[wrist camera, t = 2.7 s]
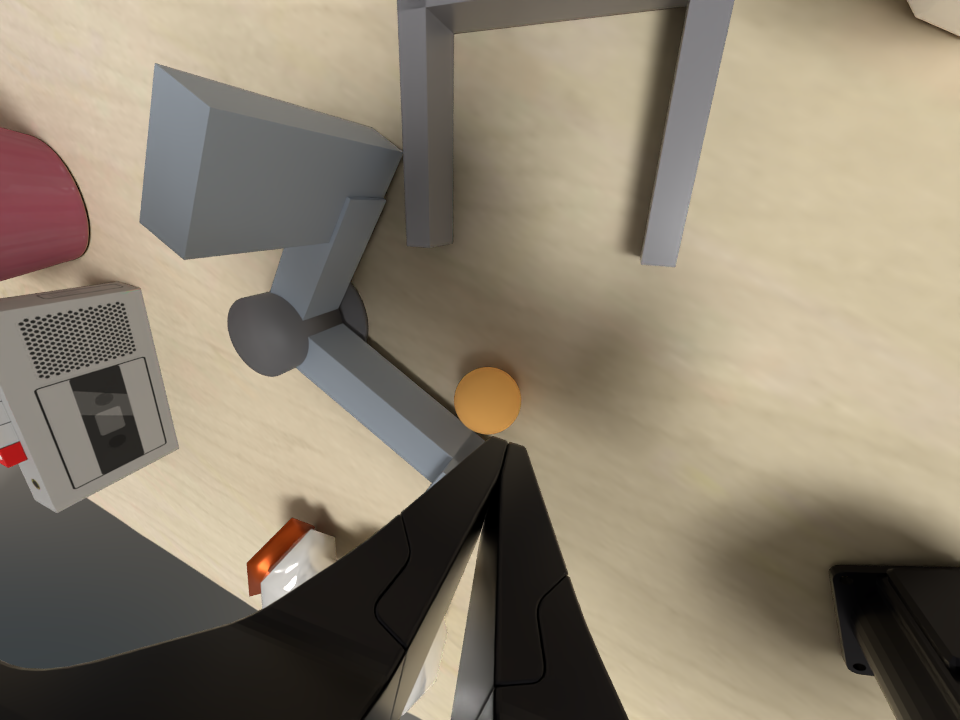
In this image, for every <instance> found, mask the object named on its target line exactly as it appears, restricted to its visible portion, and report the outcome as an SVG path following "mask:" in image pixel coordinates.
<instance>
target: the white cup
mask: <svg viewBox="0 0 960 720" xmlns="http://www.w3.org/2000/svg"><path fill="white" fill-rule="evenodd" d="M907 2H908V4H909V6H910V8H911V10H912V12H913V14H914V16H915V17H916V18H919V19H921V20H923V21H926V22H928V23H930V24H932V25H935V26H937V27H939V28H942V29H944V30H946V31H948V32H951V33H953V34H955V35H958V36H960V0H907Z"/></svg>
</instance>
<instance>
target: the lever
mask: <svg viewBox="0 0 960 720" xmlns="http://www.w3.org/2000/svg"><path fill="white" fill-rule="evenodd" d="M402 155H403V151H401V150H400V149H399V148H397V147H396V146H395V145H394V144H392V143H391V142H390V141H388V140H387V139H386V138H385V137H383V136H382V135H381V134H379V133H378V132H377V131H376V130H374V129H373V128H372V127H368V126H365V125H361V124H358V123H355V122H351V121H348V120H345V119H341V118H338V117H335V116H331V115H328V114H325V113H321V112H318V111H314V110H311V109H308V108H304V107H301V106H298V105H294V104H291V103H288V102H284V101H281V100H277V99H274V98H271V97H267V96H264V95H261V94H257V93H254V92H251V91H247V90H244V89H241V88H237V87H234V86H230V85H227V84H224V83H220V82H217V81H214V80H210V79H207V78H204V77H200V76H197V75H194V74H190V73H187V72H183V71H180V70H177V69H173V68H170V67H167V66H163V65H160V64H157V63H155V68H154V78H153V88H152V98H151V109H150V119H149V129H148V140H147V150H146V160H145V170H144V181H143V191H142V201H141V211H140V223H141V224H142V225H143V226H144V227H146V228H147V229H148V230H149V231H150V232H152V233H153V234H154V235H155V236H156V237H158V238H159V239H160V240H161V241H162V242H163V243H165V244H166V245H167V246H168V247H169V248H171V249H172V250H173V251H174V252H175V253H176V254H178V255H179V256H180V257H181V258H182V259H184V260H187V259H195V258H204V257H212V256H221V255H230V254H238V253H247V252H255V251H264V250H272V249H281V248H284V250H283V253H282V256H281V259H280V262H279V265H278V268H277V272H276V275H275V278H274V281H273V284H272V287H271V290H270V292H266V293H262V294H257V295H253V296H249V297H244V298H241V299H238V300H237V301H235V302H234V303H233V305H232V306H231V308H230V310H229V313H228V321H227V322H228V331H229V335H230V338H231V341H232V344H233V346H234V348H235V350H236V351H237V353H238V354H239V356H240V357H241V359H242V360H243V361H244V362H245V363H246V364H247V365H248V366H249V367H250V368H252V369H253V370H254V371H256V372H258V373H260V374H262V375H265V376H270V377H274V376H278V375H281V374H283V373H285V372H287V371H289V370H292V369H294V368H297V369H298V370H299V371H300V372H301V373H303V374H304V375H305V376H306V377H307V378H308V379H310V380H311V381H312V382H313V383H314V384H316V385H317V386H318V387H319V388H320V389H321V390H323V391H324V392H325V393H326V394H327V395H329V396H330V397H331V398H332V399H333V400H334V401H336V402H337V403H338V404H339V405H340V406H342V407H343V408H344V409H345V410H346V411H347V412H349V413H350V414H351V415H352V416H353V417H355V418H356V419H357V420H358V421H359V422H360V423H362V424H363V425H364V426H365V427H366V428H368V429H369V430H370V431H371V432H372V433H373V434H375V435H376V436H377V437H378V438H379V439H380V440H382V441H383V442H384V443H385V444H386V445H388V446H389V447H390V448H391V449H392V450H393V451H395V452H396V453H397V454H398V455H399V456H401V457H402V458H403V459H404V460H405V461H406V462H408V463H409V464H410V465H411V466H412V467H414V468H415V469H416V470H417V471H418V472H419V473H421V474H422V475H423V476H424V477H425V478H427V479H428V480H429V481H430V482H431V483H432V484H431V485H430V486H429V488H431V487H432V486H433V485H434V484H435V483H437V482H438V481H439V480H440V479H441V478H442V477H444V476H445V475H446V474H447V473H448V472H450V471H451V470H452V469H453V468H454V467H455V466H457V465H458V464H459V463H460V462H461V461H463V460H464V459H465V458H466V457H467V456H469V455H470V454H471V453H472V452H473V451H474V450H476V449H477V448H478V447H479V446H480V445H482V444H483V443H484V442H485V441H484V440H483V439H482V438H481V437H480V436H478V435H477V434H476V433H475V432H473V431H472V430H470V429H469V428H467V427H466V426H465V425H464V424H463V423H462V422H461V421H460V420H459V419H458V418H457V417H455V416H454V415H453V414H452V413H450V412H449V411H448V410H447V409H446V408H444V407H443V406H442V405H441V404H440V403H438V402H437V401H436V400H435V399H434V398H432V397H431V396H430V395H429V394H428V393H426V392H425V391H424V390H423V389H421V388H420V387H419V386H418V385H417V384H415V383H414V382H413V381H412V380H411V379H409V378H408V377H407V376H406V375H405V374H403V373H402V372H401V371H400V370H399V369H397V368H396V367H395V366H394V365H392V364H391V363H390V362H389V361H388V360H386V359H385V358H384V357H383V356H382V355H380V354H379V353H378V352H377V351H376V350H374V349H373V348H372V347H371V346H370V345H368V344H367V343H366V342H365V341H363V340H362V339H361V338H360V337H359V336H357V335H356V334H355V333H354V332H353V331H351V330H350V329H349V328H348V327H347V326H345V325H344V324H343V322H342V317H341V314H340V311H339V309H338V308H339V306H340V304H341V302H342V299H343V297H344V295H345V293H346V290H347V288H348V286H349V284H350V281H351V279H352V277H353V275H354V272H355V270H356V268H357V266H358V263H359V261H360V259H361V257H362V254H363V252H364V250H365V248H366V245H367V243H368V241H369V239H370V236H371V234H372V232H373V230H374V227H375V225H376V223H377V221H378V218H379V216H380V214H381V212H382V209H383V207H384V205H385V203H386V201H387V200H385V199H384V196H385V194H386V191H387V189H388V187H389V184H390V182H391V180H392V178H393V175H394V173H395V171H396V169H397V166H398V164H399V162H400V159H401V157H402ZM429 488H428V489H429ZM428 489H427V490H428ZM427 490H426V491H427Z"/></svg>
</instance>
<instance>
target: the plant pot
mask: <svg viewBox="0 0 960 720" xmlns="http://www.w3.org/2000/svg"><path fill="white" fill-rule="evenodd" d="M88 238H89V227H88V219H87V214H86V211H85V207H84V204H83V201H82V198H81V195H80V193H79V191H78V188H77V186H76V184H75V182H74V180H73V178H72V176H71V175H70V173H69V171H68V169H67V168H66V166H65V165H64V163H63V162H62V161H61V159H60V158H59V157H58V156H57V154H56V153H55V152H54V151H53V150H52V149H51V148H50V147H49V146H47V145H46V144H45V143H44V142H42V141H41V140H39V139H37V138H35V137H33V136H31V135H27V134H23V133H19V132H16V131H12V130H8V129H5V128H1V127H0V281H3V280H6V279H10V278H13V277H17V276H20V275H24V274H27V273H30V272H34V271H37V270H40V269H44V268H47V267H50V266H53V265H57V264H60V263H63V262H67V261H70V260H74V259H76V258H79V257H80V256H81V255H82V254H83V253H84V252H85V250H86V248H87V245H88Z"/></svg>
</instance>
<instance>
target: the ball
mask: <svg viewBox="0 0 960 720" xmlns="http://www.w3.org/2000/svg"><path fill="white" fill-rule="evenodd" d="M454 405H455V410H456V413H457V415H458V417H459V419H460V420H461V422H462V423H463V424H464V425H465V426H466V427H467V428H469V429H470V430H472V431H474V432H477V433H481V434H495V433H498V432H501V431H503V430H505V429H506V428H508V427H509V426H510V425H511V424H512V423H513V422H514V421H515V419H516V418H517V416H518V414H519V411H520V407H521V395H520V390H519V388H518V386H517V384H516V382H515V381H514V379H513V378H512V377H511V376H510V375H509V374H507V373H506V372H504V371H502V370H500V369H497V368H493V367H482V368H478V369H475V370H473V371H471V372H469V373H468V374H467V375H465V376H464V377H463V378H462V380H461V381H460V382H459V384H458V386H457V388H456V391H455V396H454Z"/></svg>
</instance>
